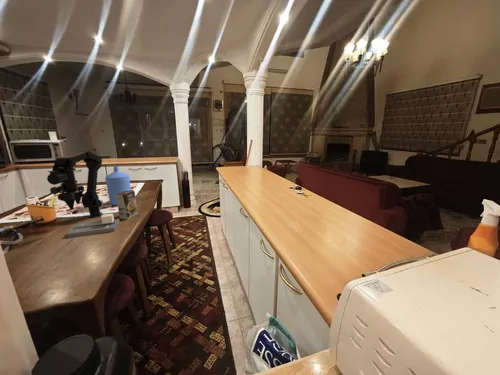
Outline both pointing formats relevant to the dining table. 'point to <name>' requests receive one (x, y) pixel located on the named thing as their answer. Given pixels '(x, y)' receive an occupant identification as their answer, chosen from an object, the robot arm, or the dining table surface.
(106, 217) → the fader knob
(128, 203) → the coffee box
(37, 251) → the dining table surface
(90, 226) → the console board
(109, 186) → the water jug
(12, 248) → the dining table surface
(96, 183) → the robot arm
